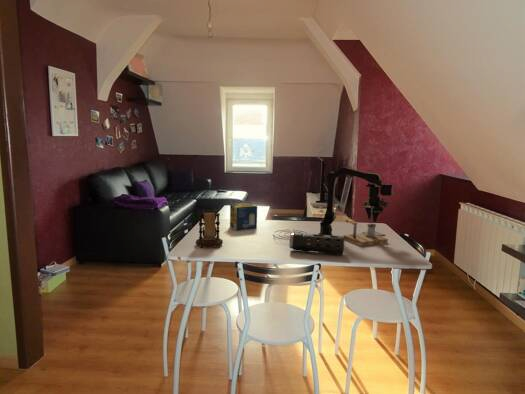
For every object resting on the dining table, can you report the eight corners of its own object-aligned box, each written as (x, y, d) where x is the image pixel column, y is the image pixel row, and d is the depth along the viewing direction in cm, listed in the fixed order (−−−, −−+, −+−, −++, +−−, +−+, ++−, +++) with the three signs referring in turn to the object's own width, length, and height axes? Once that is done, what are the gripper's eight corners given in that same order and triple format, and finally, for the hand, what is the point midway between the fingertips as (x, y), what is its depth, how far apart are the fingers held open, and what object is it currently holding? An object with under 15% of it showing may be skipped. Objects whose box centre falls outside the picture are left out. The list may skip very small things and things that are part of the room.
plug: (369, 242, 223) (371, 225, 222) (364, 239, 228) (365, 223, 226) (376, 241, 225) (377, 225, 224) (371, 239, 230) (372, 223, 228)
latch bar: (356, 238, 221) (357, 222, 219) (353, 238, 221) (354, 222, 219) (344, 230, 240) (345, 215, 238) (342, 230, 239) (343, 215, 238)
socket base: (359, 246, 214) (360, 242, 213) (343, 239, 228) (343, 235, 228) (387, 243, 222) (387, 239, 221) (369, 236, 236) (370, 232, 236)
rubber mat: (372, 236, 236) (372, 235, 236) (362, 232, 245) (362, 232, 245) (384, 235, 240) (384, 234, 239) (374, 231, 249) (374, 230, 249)
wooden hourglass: (197, 250, 200) (197, 213, 197) (194, 242, 214) (194, 207, 211) (224, 248, 204) (225, 212, 200) (220, 241, 218) (220, 207, 214)
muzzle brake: (343, 258, 193) (344, 238, 191) (288, 253, 198) (289, 234, 197) (342, 252, 202) (344, 233, 200) (291, 248, 208) (291, 230, 206)
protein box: (229, 227, 251) (229, 204, 249) (250, 225, 258) (250, 203, 256) (236, 230, 242) (236, 207, 240) (257, 228, 249) (257, 205, 247)
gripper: (393, 197, 213) (391, 224, 216) (381, 192, 232) (379, 217, 234) (374, 197, 213) (372, 224, 215) (363, 192, 231) (361, 217, 234)
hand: (371, 220), depth 225 cm, fingers open, 9 cm apart
